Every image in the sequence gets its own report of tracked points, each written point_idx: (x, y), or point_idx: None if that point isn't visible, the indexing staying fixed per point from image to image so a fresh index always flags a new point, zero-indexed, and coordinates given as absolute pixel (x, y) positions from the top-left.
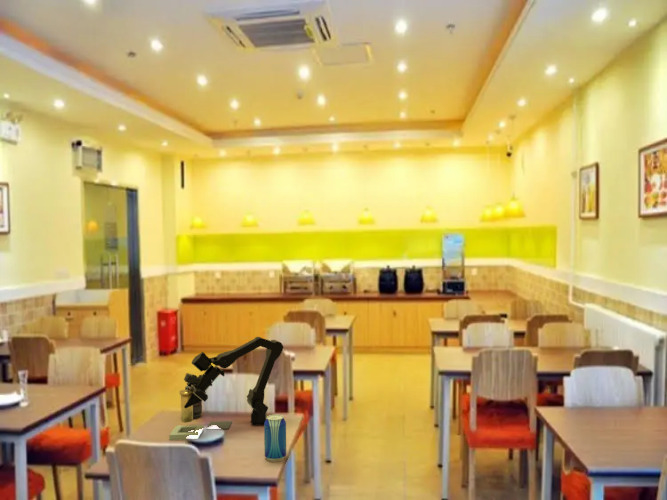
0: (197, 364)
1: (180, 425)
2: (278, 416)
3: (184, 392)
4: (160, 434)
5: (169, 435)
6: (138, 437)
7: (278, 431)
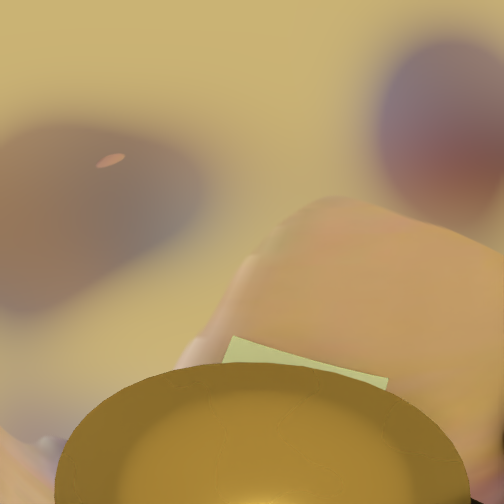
0: None
1: None
2: None
3: (100, 479)
4: (342, 300)
5: (233, 336)
6: (326, 214)
7: None
